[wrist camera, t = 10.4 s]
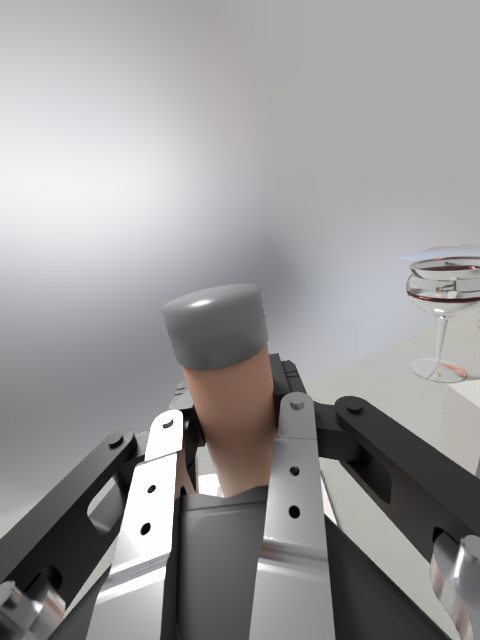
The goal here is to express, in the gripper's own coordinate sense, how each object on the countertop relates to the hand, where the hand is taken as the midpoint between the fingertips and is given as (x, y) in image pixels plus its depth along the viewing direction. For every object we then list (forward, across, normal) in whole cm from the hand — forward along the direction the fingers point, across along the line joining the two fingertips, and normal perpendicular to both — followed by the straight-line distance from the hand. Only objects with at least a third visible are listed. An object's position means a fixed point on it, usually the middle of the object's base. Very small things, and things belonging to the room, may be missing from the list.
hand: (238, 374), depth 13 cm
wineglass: (+11, -21, +11) cm, 26 cm away
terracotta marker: (-3, 0, +7) cm, 8 cm away
